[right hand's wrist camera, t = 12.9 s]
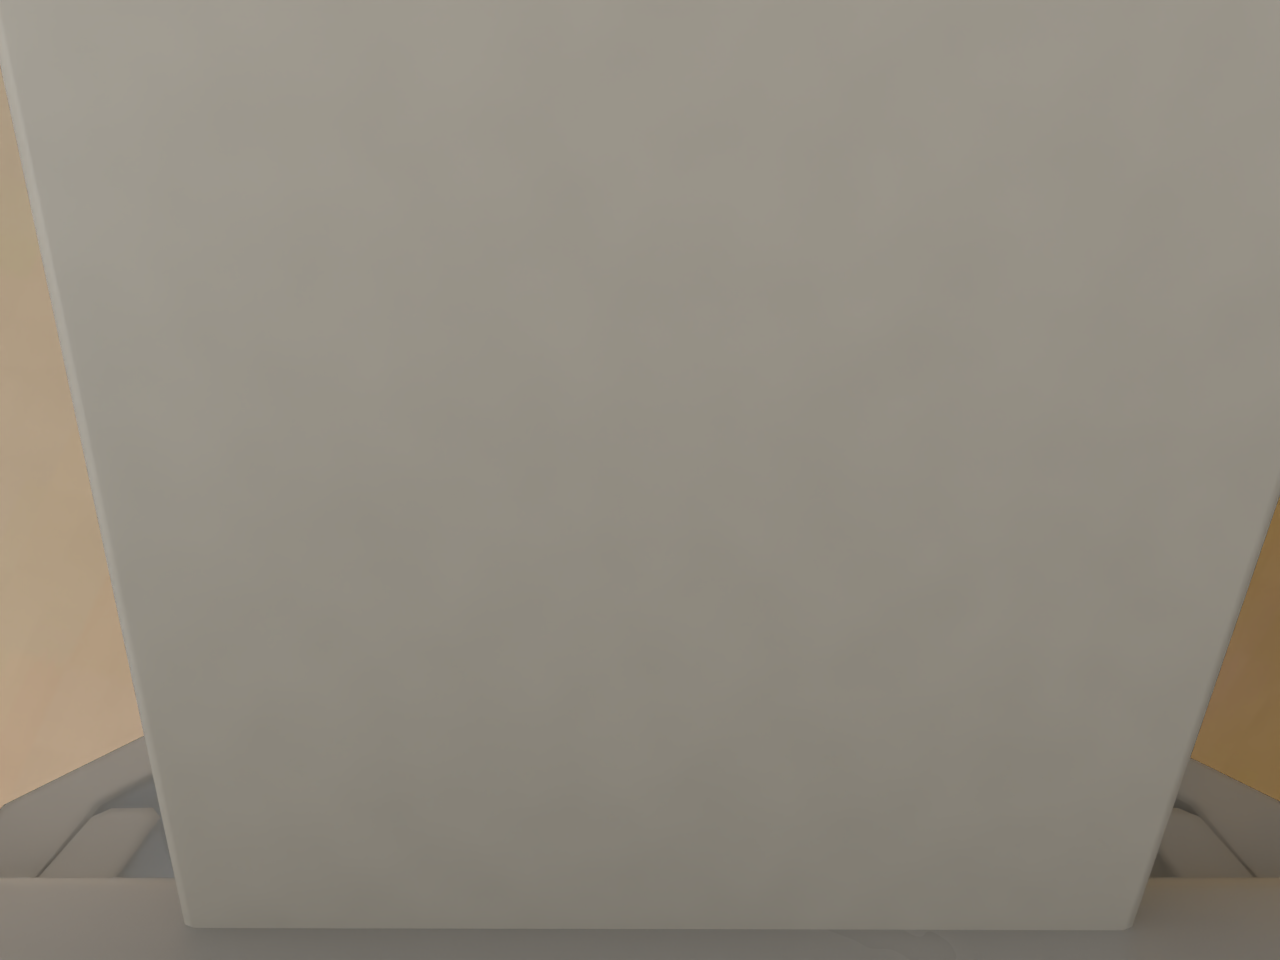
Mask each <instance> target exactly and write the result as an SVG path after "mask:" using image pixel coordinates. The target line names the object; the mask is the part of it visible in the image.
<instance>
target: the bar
mask: <svg viewBox="0 0 1280 960" xmlns="http://www.w3.org/2000/svg"><path fill="white" fill-rule="evenodd" d="M0 66H1V71H2V75H3V80H4V85H5V89H6V94H7V98H8V103H9V108H10V112H11V117H12V122H13V126H14V131H15V136H16V140H17V145H18V150H19V154H20V159H21V164H22V168H23V173H24V178H25V182H26V187H27V192H28V196H29V201H30V206H31V210H32V215H33V220H34V224H35V229H36V234H37V238H38V243H39V248H40V252H41V257H42V262H43V266H44V271H45V276H46V280H47V285H48V290H49V294H50V299H51V304H52V308H53V313H54V317H55V322H56V327H57V331H58V336H59V341H60V345H61V350H62V355H63V359H64V364H65V369H66V373H67V378H68V383H69V387H70V392H71V397H72V401H73V406H74V411H75V415H76V420H77V425H78V429H79V434H80V439H81V443H82V448H83V453H84V457H85V462H86V467H87V471H88V476H89V481H90V485H91V490H92V495H93V499H94V504H95V509H96V513H97V518H98V523H99V527H100V532H101V536H102V541H103V546H104V550H105V555H106V560H107V564H108V569H109V574H110V578H111V583H112V588H113V592H114V597H115V602H116V606H117V611H118V616H119V620H120V625H121V630H122V634H123V639H124V644H125V648H126V653H127V658H128V662H129V667H130V672H131V676H132V681H133V686H134V690H135V695H136V700H137V704H138V709H139V714H140V718H141V723H142V728H143V732H144V737H145V741H146V746H147V751H148V755H149V760H150V765H151V769H152V774H153V779H154V783H155V788H156V793H157V797H158V802H159V807H160V811H161V816H162V821H163V825H164V830H165V835H166V839H167V844H168V849H169V853H170V858H171V863H172V867H173V872H174V877H175V881H176V886H177V891H178V895H179V900H180V905H181V909H182V914H183V919H184V923H185V925H188V926H190V927H193V928H395V929H791V930H1125V929H1128V928H1130V927H1132V926H1133V923H1134V920H1135V917H1136V914H1137V912H1138V909H1139V906H1140V903H1141V900H1142V897H1143V894H1144V891H1145V888H1146V885H1147V882H1148V879H1149V876H1150V874H1151V871H1152V868H1153V865H1154V862H1155V859H1156V856H1157V853H1158V850H1159V847H1160V844H1161V841H1162V838H1163V836H1164V833H1165V830H1166V827H1167V824H1168V821H1169V818H1170V815H1171V812H1172V809H1173V806H1174V803H1175V800H1176V797H1177V795H1178V792H1179V789H1180V786H1181V783H1182V780H1183V777H1184V774H1185V771H1186V768H1187V765H1188V762H1189V759H1190V757H1191V754H1192V751H1193V748H1194V745H1195V742H1196V739H1197V736H1198V733H1199V730H1200V727H1201V724H1202V721H1203V719H1204V716H1205V713H1206V710H1207V707H1208V704H1209V701H1210V698H1211V695H1212V692H1213V689H1214V686H1215V683H1216V681H1217V678H1218V675H1219V672H1220V669H1221V666H1222V663H1223V660H1224V657H1225V654H1226V651H1227V648H1228V645H1229V643H1230V640H1231V637H1232V634H1233V631H1234V628H1235V625H1236V622H1237V619H1238V616H1239V613H1240V610H1241V607H1242V605H1243V602H1244V599H1245V596H1246V593H1247V590H1248V587H1249V584H1250V581H1251V578H1252V575H1253V572H1254V569H1255V567H1256V564H1257V561H1258V558H1259V555H1260V552H1261V549H1262V546H1263V543H1264V540H1265V537H1266V534H1267V531H1268V528H1269V526H1270V523H1271V520H1272V517H1273V514H1274V511H1275V508H1276V505H1277V502H1278V499H1279V496H1280V0H0Z"/></svg>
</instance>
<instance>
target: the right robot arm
mask: <svg viewBox="0 0 1280 960" xmlns="http://www.w3.org/2000/svg"><path fill="white" fill-rule="evenodd" d="M0 960H1280V801H1278V800H1276V799H1274V798H1272V797H1270V796H1267V795H1265V794H1263V793H1261V792H1259V791H1257V790H1255V789H1253V788H1251V787H1249V786H1247V785H1245V784H1243V783H1241V782H1239V781H1237V780H1235V779H1233V778H1231V777H1229V776H1227V775H1225V774H1223V773H1220V772H1218V771H1216V770H1214V769H1212V768H1210V767H1208V766H1206V765H1204V764H1202V763H1200V762H1198V761H1196V760H1194V759H1192V758H1190V759H1189V762H1188V765H1187V768H1186V771H1185V774H1184V777H1183V780H1182V783H1181V786H1180V789H1179V792H1178V795H1177V797H1176V800H1175V803H1174V806H1173V809H1172V812H1171V815H1170V818H1169V821H1168V824H1167V827H1166V830H1165V833H1164V836H1163V838H1162V841H1161V844H1160V847H1159V850H1158V853H1157V856H1156V859H1155V862H1154V865H1153V868H1152V871H1151V874H1150V876H1149V879H1148V882H1147V885H1146V888H1145V891H1144V894H1143V897H1142V900H1141V903H1140V906H1139V909H1138V912H1137V914H1136V917H1135V920H1134V923H1133V926H1132V927H1130V928H1128V929H1125V930H791V929H395V928H193V927H190V926H188V925H185V923H184V919H183V914H182V909H181V905H180V900H179V895H178V891H177V886H176V881H175V877H174V872H173V867H172V863H171V858H170V853H169V849H168V844H167V839H166V835H165V830H164V825H163V821H162V816H161V811H160V807H159V802H158V797H157V793H156V788H155V783H154V779H153V774H152V769H151V765H150V760H149V755H148V751H147V746H146V741H145V737H144V736H143V737H141V738H139V739H137V740H134V741H132V742H130V743H128V744H126V745H124V746H122V747H120V748H118V749H116V750H114V751H112V752H110V753H108V754H106V755H104V756H102V757H100V758H98V759H96V760H94V761H92V762H90V763H88V764H86V765H84V766H82V767H80V768H78V769H76V770H74V771H72V772H70V773H68V774H65V775H63V776H61V777H59V778H57V779H55V780H53V781H51V782H49V783H47V784H45V785H43V786H41V787H39V788H37V789H35V790H33V791H31V792H29V793H27V794H25V795H23V796H21V797H19V798H17V799H15V800H13V801H11V802H9V803H7V804H5V805H4V806H3V807H2V808H1V809H0Z"/></svg>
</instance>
